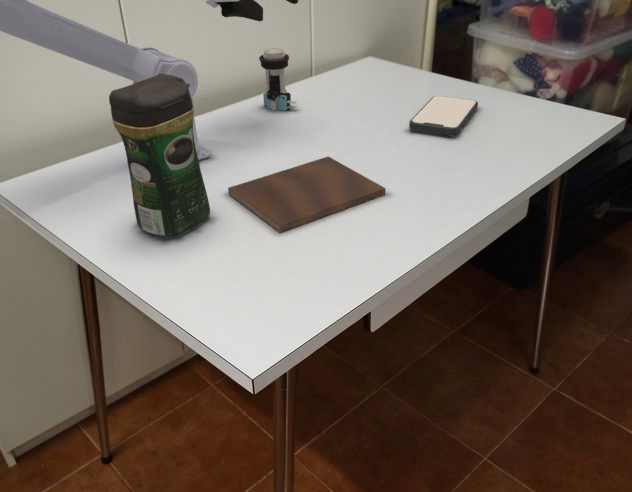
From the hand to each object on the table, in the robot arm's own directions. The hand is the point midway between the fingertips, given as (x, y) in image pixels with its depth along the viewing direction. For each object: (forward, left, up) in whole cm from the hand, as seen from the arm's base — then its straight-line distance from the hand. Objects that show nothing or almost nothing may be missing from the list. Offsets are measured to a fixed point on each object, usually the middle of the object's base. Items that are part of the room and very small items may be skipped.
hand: (278, 6), depth 101 cm
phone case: (+22, -18, -19) cm, 34 cm away
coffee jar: (-33, -23, -19) cm, 44 cm away
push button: (+2, +5, -19) cm, 19 cm away
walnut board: (-14, -27, -18) cm, 35 cm away
